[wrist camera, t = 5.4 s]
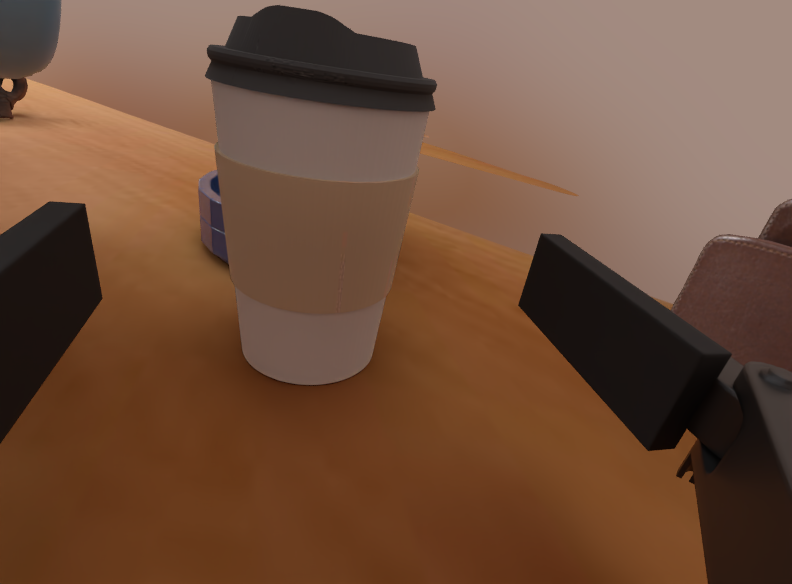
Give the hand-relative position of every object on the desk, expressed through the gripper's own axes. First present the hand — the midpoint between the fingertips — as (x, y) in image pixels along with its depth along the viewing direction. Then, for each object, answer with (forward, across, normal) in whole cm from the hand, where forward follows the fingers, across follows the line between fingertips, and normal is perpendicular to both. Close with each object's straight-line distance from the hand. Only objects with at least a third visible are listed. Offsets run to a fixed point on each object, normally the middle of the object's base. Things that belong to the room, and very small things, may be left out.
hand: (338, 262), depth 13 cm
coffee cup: (+8, 0, -9) cm, 12 cm away
